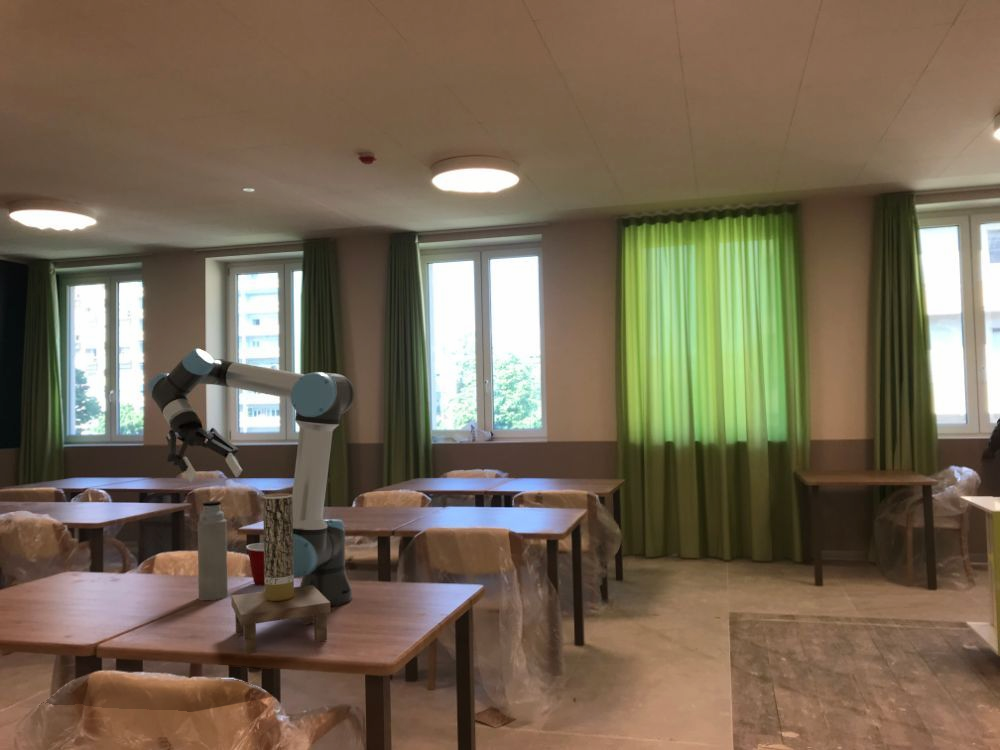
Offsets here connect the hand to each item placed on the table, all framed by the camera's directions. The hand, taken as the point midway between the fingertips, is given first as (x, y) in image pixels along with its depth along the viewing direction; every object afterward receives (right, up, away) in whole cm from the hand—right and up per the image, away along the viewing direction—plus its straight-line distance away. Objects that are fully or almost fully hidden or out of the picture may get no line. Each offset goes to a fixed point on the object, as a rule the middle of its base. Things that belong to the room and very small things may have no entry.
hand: (217, 476), depth 198 cm
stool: (+21, -36, -16) cm, 45 cm away
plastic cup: (0, -39, +40) cm, 56 cm away
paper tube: (+21, -28, -16) cm, 38 cm away
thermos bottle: (-10, -39, +24) cm, 47 cm away
